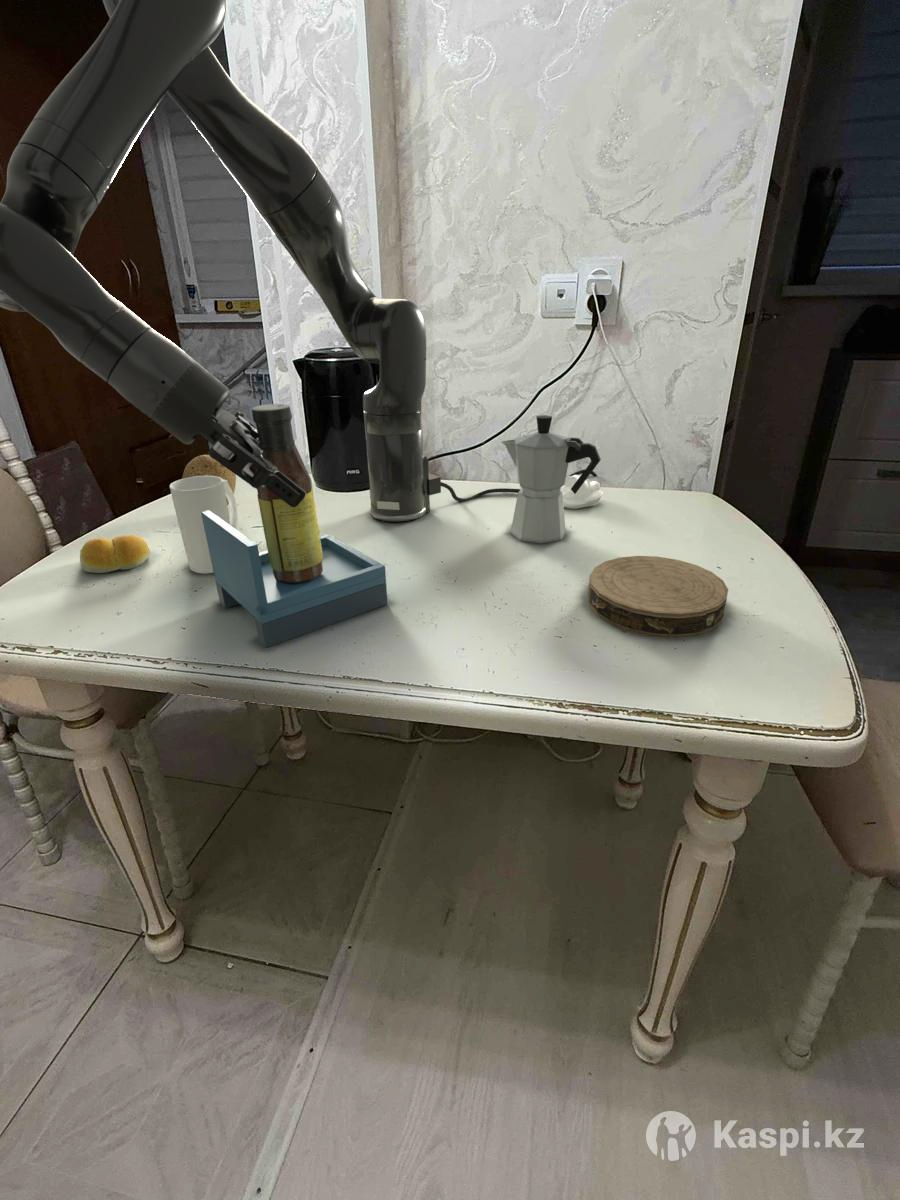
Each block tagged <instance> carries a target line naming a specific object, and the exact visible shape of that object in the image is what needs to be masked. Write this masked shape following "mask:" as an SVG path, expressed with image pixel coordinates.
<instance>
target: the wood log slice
mask: <svg viewBox="0 0 900 1200" xmlns="http://www.w3.org/2000/svg"><path fill="white" fill-rule="evenodd" d="M592 569H593V570H592V571H591V572H590V574H589V581H588V593H587V600H588V606H589V607H590V609H591V611H593V613H594V614H595V615H596V616H597V617H599V618H600V619H602V620H604V621H605V622H607V623H608V624H610V625H612V626H615V627H616V628H620V629H623V630H625V631H628V632H631V633H635V634H640V635H644V636H650V637H657V638H658V637H659V638H684V637H693V636H698V635H702V634H704V633H707V632H710V631H712V630H714V629H715V628H716V627H718V626H719V625H720V624H721V623H722V622H723V618H724V615H725V608H726V605H727V599H728V593H729V588H728V586H727V584H726V583H725V581H724V580H723V579H722V578H721V577H719V576H718V575H717V574H715V573H714V572H712V571H710V570H708V569H706V568H704V567H701V566H700V565H697V564H695V563H691V562H687V561H684V560H680V559H676V558H668V557H663V556H656V555H655V556H654V555H653V556H651V555H650V556H649V555H632V556H622V557H621V556H619V557H616V558H612V559H609V560H605V561H604V562H601V563H599V564H598V565H596V566H594V568H592Z"/></svg>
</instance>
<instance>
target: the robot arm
mask: <svg viewBox="0 0 900 1200" xmlns="http://www.w3.org/2000/svg"><path fill="white" fill-rule="evenodd" d="M102 3H103V5H104V8H105V11H106V14H107V15H108V17H109V20H108V22H107V23H106V25H105V27H103V28H102V30H101V32H100V34H99V35H98V37H97V38H96V39H95V41H94V42H93V43H92V44H91V46H90V47H89V48H88V50H87V51H86V52H85V53H84V54H83V56H82V57H81V58H80V59H79V60H78V62H77V63H75V65H74V66H73V67H72V68H71V70H69V72H68V73H67V74H66V75H65V76H64V78H63V79H62V80H61V81H60V82H59V84H57V86H56V87H55V88H54V90H53V91H52V92H51V93H50V95H49V96H48V98H46V100H45V101H44V102H43V104H42V105H41V107H40V108H39V110H38V111H37V113H36V114H35V115H34V117H33V119H32V121H31V122H30V124H29V125H28V127H27V128H26V130H25V132H24V133H23V135H22V137H21V138H20V140H19V141H18V143H17V145H16V147H14V150H13V152H12V154H11V156H10V158H9V162H8V164H7V169H6V187H5V191H4V194H3V197H2V198H1V201H0V308H2V309H5V310H8V311H11V312H17V313H18V312H19V313H24V312H25V313H26V312H27V313H28V314H29V315H31V316H32V317H34V319H36V320H37V321H38V322H40V323H41V324H42V325H44V326H45V327H46V328H47V330H49V331H50V332H51V334H53V336H54V337H55V338H56V340H57V341H58V342H59V344H60V345H61V346H62V347H63V348H64V350H66V352H67V353H69V354H70V355H71V356H72V357H73V358H75V359H76V361H78V362H79V363H81V364H82V365H84V366H85V368H87V369H89V370H90V371H91V372H93V373H94V374H95V375H97V376H98V377H99V378H100V379H102V380H103V381H104V382H106V383H107V384H109V385H110V386H111V387H112V388H113V389H114V390H116V392H117V393H118V394H119V395H120V396H122V397H123V398H124V400H126V401H127V402H128V403H129V404H131V405H132V406H134V408H136V409H137V410H139V411H140V413H143V414H144V415H145V416H147V417H148V418H149V419H151V420H152V421H153V422H155V423H156V424H157V425H159V426H160V427H161V428H162V429H164V430H165V431H166V432H168V433H169V434H170V435H172V436H173V437H174V438H176V439H177V440H179V442H181V443H183V444H184V445H188V446H189V445H191V444H192V443H193V442H194V441H195V440H196V438H197V437H198V436H199V435H201V436H202V437H203V438H204V439H205V440H206V441H207V442H208V443H210V445H211V448H210V449H208V451H207V455H210V457H211V458H213V459H215V460H216V461H218V462H219V463H220V464H222V465H223V466H225V467H226V468H227V469H229V470H230V471H232V472H233V473H234V474H236V477H238V478H240V479H241V480H243V481H244V482H246V483H247V484H248V485H250V487H252V488H253V489H255V490H257V489H259V487H262V488H265V487H266V486H267V487H266V488H268V489H269V490H270V491H272V492H273V493H274V494H276V495H277V496H278V497H279V498H281V499H282V500H283V501H285V502H286V503H287V504H289V505H290V506H291V507H296V506H297V505H298V504H299V503H300V502H301V501H302V500H303V499H304V497H305V491H304V489H302V488H301V487H300V486H298V485H297V484H296V483H295V482H293V481H292V480H291V479H290V478H288V477H287V476H286V475H285V474H283V473H282V472H281V471H279V470H278V469H277V467H276V466H275V465H273V464H272V463H271V462H270V461H269V460H268V459H267V457H266V450H265V449H264V448H263V447H262V446H261V445H260V444H259V438H258V432H257V427H256V423H255V422H254V421H252V420H251V419H250V418H249V417H247V416H246V415H245V413H243V412H242V411H239V410H237V411H236V413H234V414H233V413H231V412H229V411H228V410H226V409H225V408H223V405H224V403H225V402H226V401H227V400H228V399H229V397H230V395H231V390H230V388H229V387H227V386H226V385H225V384H224V383H223V382H222V381H221V380H219V379H218V378H217V377H215V376H214V375H213V374H212V373H211V372H209V371H208V370H207V369H205V368H204V366H202V365H201V364H200V363H198V362H197V361H196V360H195V359H194V358H192V357H191V356H190V354H188V353H187V352H185V351H184V350H183V349H181V347H179V346H178V345H177V344H175V343H174V342H172V341H171V340H170V339H168V338H166V337H165V336H163V335H162V334H161V333H159V332H157V331H156V330H155V329H153V328H152V327H151V326H150V325H149V324H147V322H145V321H144V320H142V319H141V318H140V317H139V316H138V315H137V314H135V313H134V312H133V311H132V310H131V309H129V308H128V307H126V305H124V304H123V303H122V302H121V301H120V300H117V299H116V298H115V297H113V296H112V295H111V294H110V293H109V292H108V291H106V290H105V288H103V287H102V285H100V283H99V282H98V281H97V280H96V279H95V277H93V276H92V275H91V274H90V272H89V271H88V270H87V269H86V268H85V267H84V266H83V265H82V264H81V262H79V261H78V260H77V258H76V257H74V253H75V251H76V249H77V246H78V243H79V240H80V238H81V234H82V232H83V230H84V228H85V226H86V224H87V223H88V221H89V220H90V219H91V217H92V216H93V214H94V212H95V211H96V210H97V208H98V206H99V204H100V203H101V201H102V199H103V197H104V196H105V194H106V193H107V190H108V189H109V187H110V186H111V184H112V182H113V180H114V178H115V177H116V175H117V173H118V171H119V169H120V168H121V167H122V164H123V163H124V161H125V159H126V157H127V156H128V154H129V152H130V151H131V149H132V147H133V145H134V143H135V142H136V141H137V139H138V137H139V135H140V134H141V132H142V130H143V128H144V127H145V125H146V124H147V122H148V121H149V119H150V117H151V116H152V114H153V113H154V111H155V110H156V108H157V107H158V105H159V104H160V102H161V101H162V100H163V98H164V97H165V95H166V94H167V95H168V96H169V97H170V98H171V99H172V101H173V102H174V103H175V104H176V105H177V107H178V108H179V109H180V110H181V111H182V112H183V113H184V115H186V117H187V119H188V120H190V122H191V123H192V125H194V127H195V128H196V130H198V132H199V133H200V134H201V136H202V137H203V138H204V139H205V141H206V142H207V144H208V145H209V146H210V148H211V149H212V151H213V152H214V153H215V155H216V156H217V157H218V159H219V160H220V161H221V163H222V164H223V166H224V167H225V168H226V169H227V171H228V172H229V174H230V175H231V176H232V178H233V179H234V180H235V181H236V183H237V184H238V185H239V186H240V188H241V189H242V190H243V192H244V193H245V195H246V196H247V198H248V200H249V201H250V203H251V204H252V205H253V207H254V208H255V210H256V211H257V213H258V214H259V215H260V217H261V218H262V219H263V221H264V222H265V224H266V226H268V228H269V229H270V230H271V232H272V234H273V235H274V236H275V237H276V239H277V240H278V241H279V242H280V244H281V245H282V246H283V247H284V248H285V250H286V252H288V254H289V255H290V256H291V258H292V259H293V261H294V262H295V264H296V265H297V267H298V268H299V269H300V271H301V272H302V274H303V275H304V276H305V278H306V280H307V281H308V282H309V283H310V285H311V286H312V287H313V289H314V290H315V291H316V293H317V294H318V296H319V297H320V299H321V300H322V302H323V304H324V305H325V308H327V310H328V312H329V313H330V315H331V317H332V319H333V321H334V322H335V324H336V326H337V327H338V329H339V331H340V333H341V334H342V336H343V338H344V339H345V341H346V342H347V344H348V346H349V347H350V348H351V350H352V352H353V353H354V354H355V355H357V356H358V358H360V359H361V360H363V361H365V362H367V363H370V364H375V365H376V364H377V365H379V379H378V383H376V385H375V386H374V387H371V388H369V389H367V390H365V392H364V393H363V395H362V408H363V409H362V410H363V421H364V433H365V445H366V460H367V473H368V486H369V499H370V516H371V517H372V518H374V519H376V520H379V521H383V522H389V523H390V522H392V523H398V522H408V521H413V520H416V519H420V518H422V517H423V516H425V514H426V513H428V512H431V498H430V497H431V496H433V495H437V494H441V493H442V488H445V489H447V490H448V491H449V493H450V495H451V496H452V499H453V500H455V501H456V502H459V503H464V502H468V501H471V500H474V499H477V498H480V497H482V496H485V495H488V494H493V493H514V494H515V493H517V494H518V492H519V491H520V489H521V488H507V487H506V488H505V487H503V488H499V487H497V488H489V489H485V490H483V491H480V492H478V493H476V494H475V495H472V496H470V497H467V498H466V497H465V498H463V497H459V496H457V494H456V492H455V490H454V489H453V487H452V486H450V485H449V484H447V483H446V482H442V481H441V479H442V478H441V476H438V475H435V474H433V473H430V468H429V467H430V465H429V463H430V462H429V457H428V456H427V455H425V454H424V440H423V439H424V438H423V437H424V436H423V414H422V409H423V408H422V406H423V405H422V402H423V397H424V394H425V389H426V384H427V383H426V382H427V381H426V380H427V330H426V329H427V328H426V324H425V319H424V316H423V313H422V311H421V310H420V308H419V307H418V306H417V304H416V303H414V301H411V300H409V299H405V298H383V297H378V296H377V295H376V294H375V293H374V292H373V291H372V290H371V289H370V288H369V286H368V284H367V283H366V282H365V280H364V279H363V277H362V276H361V274H360V273H359V271H358V269H357V268H356V266H355V264H354V261H353V259H352V256H351V254H350V248H349V242H348V235H347V228H346V223H345V217H344V213H343V210H342V207H341V204H340V202H339V200H338V197H337V196H336V194H335V192H334V191H333V189H332V187H331V186H330V184H329V182H328V180H327V179H326V177H325V175H324V174H323V173H322V171H321V170H320V169H321V168H319V166H318V164H317V162H316V161H315V159H314V158H313V157H312V155H311V154H310V153H309V151H308V150H307V149H306V147H305V146H304V145H303V144H302V143H301V142H300V141H299V140H298V139H297V138H296V137H295V136H294V135H292V134H291V133H290V132H289V131H288V130H287V129H286V128H284V126H282V125H281V124H280V123H278V122H277V121H276V120H275V119H274V118H272V117H271V116H270V115H268V114H267V113H266V112H265V111H264V110H263V109H261V108H260V107H259V106H257V104H255V103H254V102H253V101H252V100H250V99H249V97H248V96H247V95H245V94H244V92H242V90H241V89H240V88H239V87H238V85H236V83H235V82H234V81H233V80H232V79H231V77H230V76H229V74H228V73H227V72H226V70H225V69H224V67H223V65H221V63H220V61H219V60H218V58H217V56H216V55H215V54H214V52H213V51H212V49H211V47H210V46H211V44H212V43H214V41H215V40H216V39H217V38H218V36H219V35H220V33H221V32H222V30H223V27H224V24H225V21H226V18H227V17H226V16H227V6H228V1H227V0H102ZM256 467H258V468H259V469H258V471H257V472H256V471H255V468H256ZM584 471H585V469H581V470H578V471H575V472H572V473H571V474H569V475H566V477H568V476H573V475H582V473H583V472H584ZM590 475H591V476H593V477H598V474H597V473H596V472H595V471H594V470H593V471H592V472H591V474H590Z"/></svg>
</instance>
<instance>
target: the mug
mask: <svg viewBox="0 0 900 1200" xmlns="http://www.w3.org/2000/svg"><path fill="white" fill-rule="evenodd" d="M168 487H169V489H170V494H171V499H172V503H173V508H174V511H175V514H176V515H175V516H176V519H177V523H178V527H179V531H180V535H181V539H182V542H183V547H184V551H185V554H186V558H187V562H188V564H189V565H188V566H189V569H190V570H191V571H192V572H194V573H197V574H205V575H206V574H214V573H213V568H212V563H211V558H210V553H209V548H208V544H207V539H206V534H205V529H204V524H203V520H202V515H201V512H203V511H207V510H210V511H211V512H212V513H214V514H215V515H217V516H218V517H220V518H221V519H222V520H224V521H225V522H227V523H228V524H229V525H231V526H232V527H234V528H235V529H236V530H237V528H238V527H237V526H238V525H237V524H238V507H237V501H236V497H235V493H234V494H233V492H232V490H231V488H230V487H229V485H228V481H227V480H223V479H222V478H220V477H216V476H195V477H189V478H184V479H182V478H181V479H178V480H175V481H173V482H171V483H170V484H169V486H168ZM226 497H227V500H228V503H229V505H228V506H227V501H226Z"/></svg>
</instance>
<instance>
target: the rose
mask: <svg viewBox="0 0 900 1200" xmlns="http://www.w3.org/2000/svg"><path fill="white" fill-rule="evenodd" d="M581 475H582V474H579V475H573V476H568V475H567V476H568V477H566V478H565V483H564V485H563V486H562V487H561V489H560V491H561V492H562V496H563V507H564V508H566V509H572V510H573V509H574V510H577V509H582V508H587V507H588V508H589V507H595V506H597V504H598V503H599V502H600V500H601V499H602V497H603V491H602V490H601V484H600V482H598V481H596V480H592V481H591V480H589V477H588V478H587V479H586V480H585V482H584V483H583V484H582V486H581V487H580V488H579V490H578V491H577V492H576V494H574V492H573V491H572V490H571V488H572V487H573V485H574V484H575V483H576V481H577V480H578V479H579V477H580V476H581Z"/></svg>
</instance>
